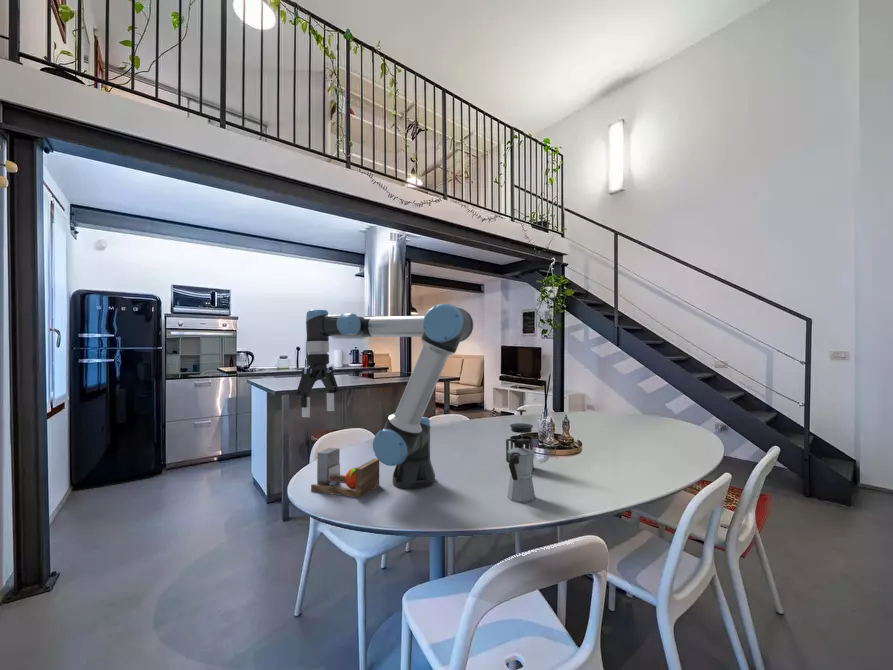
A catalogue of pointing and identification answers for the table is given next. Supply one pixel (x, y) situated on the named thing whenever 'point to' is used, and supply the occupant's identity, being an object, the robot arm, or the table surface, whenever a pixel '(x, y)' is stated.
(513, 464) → the coffee maker
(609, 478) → the table surface
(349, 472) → the clementine
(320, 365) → the robot arm
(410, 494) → the table surface
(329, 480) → the block
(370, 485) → the frame
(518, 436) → the french press
